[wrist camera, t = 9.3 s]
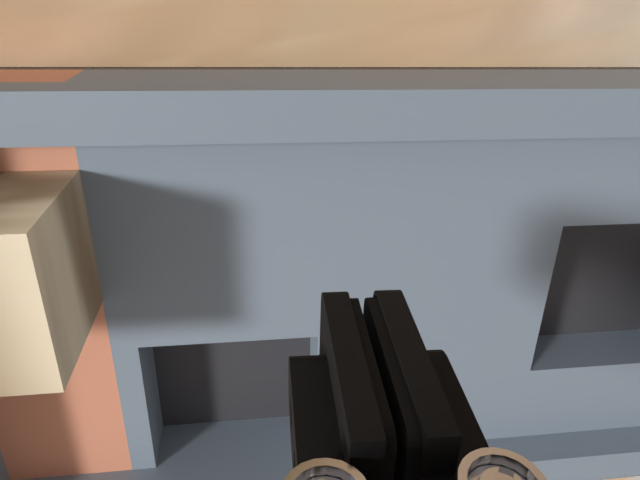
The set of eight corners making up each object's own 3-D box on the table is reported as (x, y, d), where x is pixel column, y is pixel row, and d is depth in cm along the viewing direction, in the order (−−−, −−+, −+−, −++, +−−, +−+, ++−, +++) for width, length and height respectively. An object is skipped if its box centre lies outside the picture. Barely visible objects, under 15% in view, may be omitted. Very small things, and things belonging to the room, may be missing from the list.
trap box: (746, 67, 23) (902, 96, 17) (631, 405, 31) (715, 497, 25) (-96, 67, 19) (-230, 104, 13) (18, 454, 27) (-38, 576, 21)
